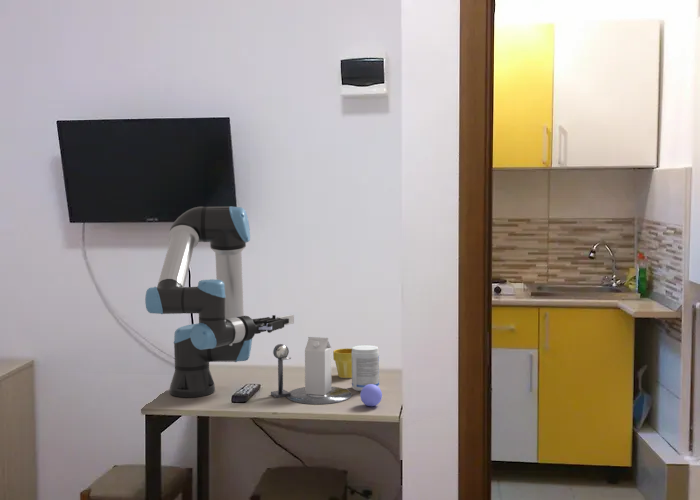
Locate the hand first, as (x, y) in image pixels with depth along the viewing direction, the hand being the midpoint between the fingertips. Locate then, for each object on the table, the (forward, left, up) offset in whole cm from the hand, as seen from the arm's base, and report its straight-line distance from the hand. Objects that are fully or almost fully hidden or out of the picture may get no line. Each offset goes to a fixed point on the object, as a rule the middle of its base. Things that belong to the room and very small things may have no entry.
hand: (292, 318), depth 233 cm
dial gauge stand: (+1, +11, -28) cm, 30 cm away
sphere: (+20, -16, -28) cm, 38 cm away
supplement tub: (+30, +3, -28) cm, 41 cm away
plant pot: (+34, +22, -28) cm, 50 cm away
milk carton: (+13, +6, -28) cm, 31 cm away
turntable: (+12, +4, -28) cm, 31 cm away
